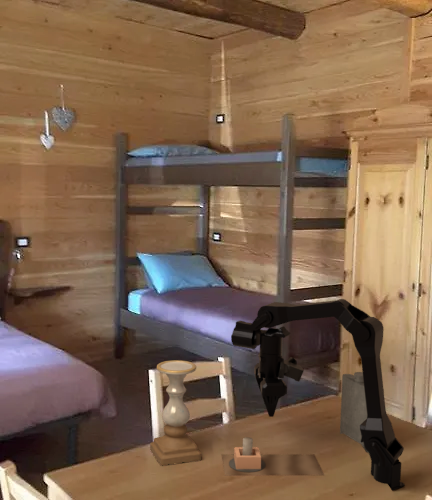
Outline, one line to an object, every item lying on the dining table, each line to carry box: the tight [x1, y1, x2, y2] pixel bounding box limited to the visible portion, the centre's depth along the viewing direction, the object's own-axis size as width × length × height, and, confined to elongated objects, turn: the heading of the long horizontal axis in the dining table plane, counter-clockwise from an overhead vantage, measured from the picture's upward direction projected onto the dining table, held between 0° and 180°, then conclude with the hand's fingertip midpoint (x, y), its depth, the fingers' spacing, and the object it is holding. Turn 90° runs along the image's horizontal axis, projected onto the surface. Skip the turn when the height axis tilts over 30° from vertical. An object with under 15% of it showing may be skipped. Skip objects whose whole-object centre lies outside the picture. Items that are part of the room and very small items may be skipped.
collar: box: [233, 446, 261, 469], centre depth 164 cm, size 6×6×3 cm
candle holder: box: [149, 359, 202, 466], centre depth 171 cm, size 11×11×24 cm
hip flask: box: [339, 371, 369, 454], centre depth 181 cm, size 16×4×20 cm, turn 26°
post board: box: [221, 436, 325, 477], centre depth 164 cm, size 24×12×8 cm, turn 93°
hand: (268, 410), depth 173 cm, fingers open, 9 cm apart
